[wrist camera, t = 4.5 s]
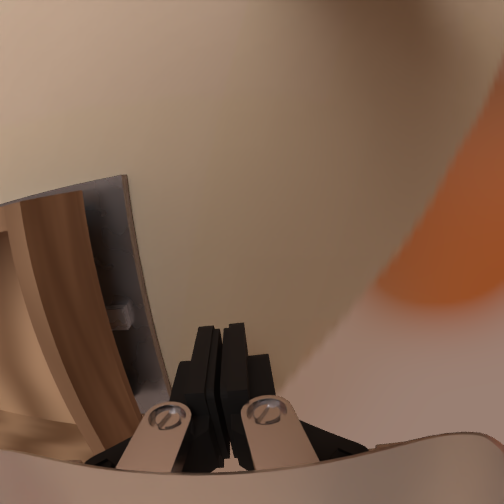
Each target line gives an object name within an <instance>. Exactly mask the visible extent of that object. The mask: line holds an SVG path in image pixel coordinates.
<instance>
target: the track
mask: <svg viewBox="0 0 504 504" xmlns="http://www.w3.org/2000/svg"><path fill="white" fill-rule="evenodd" d="M80 190H82V193H83V200H84V207H85V214H86V220H87V226H88V232H89V237H90V243H91V248H92V253H93V258H94V262H95V267H96V271H97V276H98V280H99V284H100V288H101V293H102V296H103V300H104V304H105V308H106V312H107V315H108V319H109V322H110V326H111V329H112V333H113V336H114V339H115V343H116V346H117V349H118V352H119V355H120V358H121V361H122V364H123V367H124V370H125V373H126V376H127V378H128V381H129V384H130V387H131V389H132V392H133V395H134V397H135V400H136V402H137V405H138V407H139V410H140V412H141V414H145V413H146V412H147V411H148V410H149V409H150V408H152V407H153V406H155V405H157V404H159V403H164V402H169V399H170V395H171V392H172V390H171V387H170V383H169V380H168V376H167V373H166V369H165V366H164V362H163V359H162V355H161V351H160V348H159V344H158V340H157V336H156V332H155V328H154V324H153V320H152V315H151V311H150V307H149V302H148V298H147V293H146V289H145V284H144V279H143V274H142V269H141V264H140V259H139V253H138V248H137V242H136V236H135V230H134V224H133V217H132V211H131V204H130V196H129V189H128V181H127V175H119V176H114V177H109V178H104V179H99V180H94V181H89V182H85V183H80V184H76V185H71V186H67V187H63V188H59V189H55V190H51V191H47V192H43V193H39V194H35V195H31V196H28V197H24V198H21V199H17V200H13V201H10V202H7V203H3V204H0V207H2V206H6V205H9V204H13V203H16V202H20V201H25V200H30V199H35V198H40V197H45V196H51V195H56V194H62V193H68V192H73V191H80Z"/></svg>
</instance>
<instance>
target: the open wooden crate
mask: <svg viewBox="0 0 504 504" xmlns="http://www.w3.org/2000/svg"><path fill="white" fill-rule="evenodd" d="M142 418H143V417H142V415H141V412H140V410H139V407H138V405H137V402H136V400H135V397H134V395H133V392H132V389H131V387H130V384H129V381H128V378H127V376H126V373H125V370H124V367H123V364H122V361H121V358H120V355H119V352H118V349H117V346H116V343H115V339H114V336H113V333H112V329H111V326H110V322H109V319H108V315H107V312H106V308H105V304H104V300H103V296H102V293H101V288H100V284H99V280H98V276H97V271H96V267H95V262H94V258H93V253H92V248H91V243H90V237H89V232H88V226H87V220H86V214H85V207H84V200H83V193H82V190H80V191H73V192H68V193H62V194H56V195H51V196H45V197H40V198H35V199H30V200H25V201H20V202H16V203H13V204H9V205H6V206H2V207H0V449H1V450H14V451H20V452H26V453H31V454H36V455H40V456H45V457H50V458H55V459H60V460H81V461H82V462H83V463H85V462H86V461H87V460H88V459H90V458H91V457H93V456H95V455H97V454H99V453H101V452H103V451H105V450H107V449H109V448H111V447H113V446H114V445H116V444H118V443H120V442H122V441H124V440H126V439H128V438H130V437H131V436H133V435H134V433H135V431H136V429H137V427H138V426H139V424H140V422H141V420H142Z"/></svg>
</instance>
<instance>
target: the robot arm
mask: <svg viewBox="0 0 504 504" xmlns="http://www.w3.org/2000/svg"><path fill="white" fill-rule="evenodd" d="M230 442H231V446H232V450H233V454H234V458H238V461H239V465H240V466H242V467H243V468H245V469H246V470H248V471H238V472H218V473H211V472H212V471H213V470H215V469H216V468H223V467H224V459H227V458H230ZM0 504H504V445H503V444H502V443H500V442H499V441H498V440H496V439H495V438H493V437H491V436H489V435H487V434H482V433H477V432H456V433H444V434H439V435H432V436H427V437H422V438H418V439H413V440H409V441H405V442H398V443H389V444H379V445H376V448H374V449H367V448H366V447H365V446H363V445H361V444H359V443H356V442H354V441H351V440H348V439H345V438H343V437H340V436H337V435H335V434H332V433H329V432H327V431H325V430H322V429H320V428H317V427H315V426H312V425H310V424H308V423H305V422H303V421H300V420H299V419H298V417H297V415H296V413H295V411H294V409H293V407H292V405H291V404H290V402H289V401H288V400H286V399H284V398H283V397H279V396H276V394H275V389H274V383H273V377H272V371H271V366H270V360H269V355H268V354H262V355H253V356H248V350H247V342H246V334H245V326H244V323H235V324H229V328H224V333H223V344H222V338H221V333H220V329H215V328H214V326H203V327H199V328H198V332H197V336H196V341H195V345H194V350H193V354H192V359H191V361H181V362H180V363H179V366H178V369H177V373H176V377H175V380H174V384H173V388H172V392H171V395H170V399H169V402H164V403H159V404H157V405H155V406H153V407H152V408H150V409H149V410H148V411H147V412H146V413H145V415H144V417H143V418H142V420H141V422H140V424H139V426H138V427H137V429H136V431H135V433H134V435H133V436H131V437H130V438H128V439H126V440H124V441H122V442H120V443H118V444H116V445H114V446H113V447H111V448H109V449H107V450H105V451H103V452H101V453H99V454H97V455H95V456H93V457H91V458H90V459H88V460H87V461H86V462H85V463H83V462H82V461H81V460H60V459H55V458H50V457H45V456H40V455H36V454H31V453H26V452H20V451H14V450H1V449H0Z"/></svg>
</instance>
